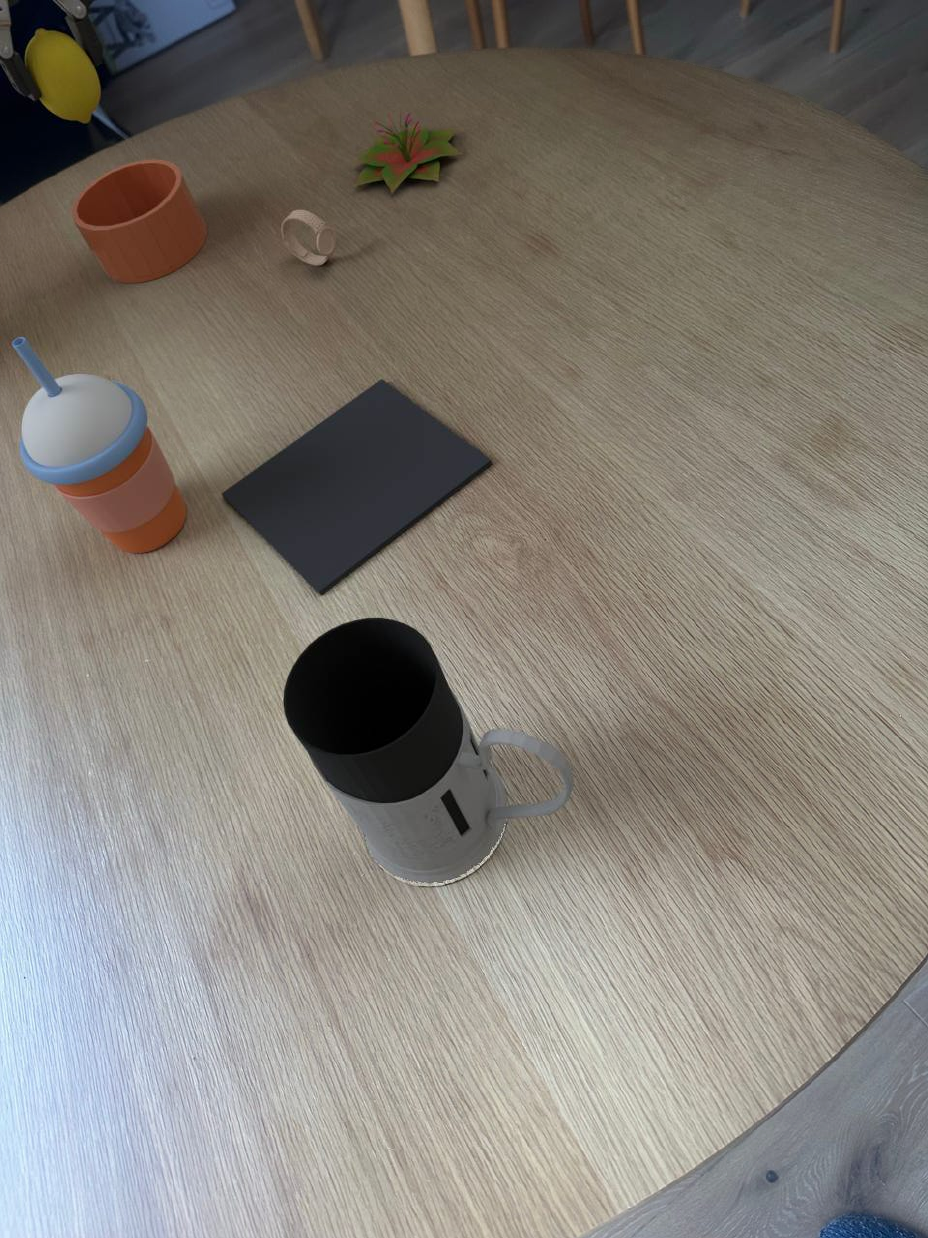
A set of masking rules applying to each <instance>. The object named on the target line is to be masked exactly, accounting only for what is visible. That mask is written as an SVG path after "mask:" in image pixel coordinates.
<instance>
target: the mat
mask: <svg viewBox="0 0 928 1238" xmlns="http://www.w3.org/2000/svg"><path fill="white" fill-rule="evenodd" d="M492 465H493V462H492V459H491V458H489V457H488V456H487V455H486V454H485V453H483V452H481V451H480V450H479V449H477V448H476V447H475V446H473V445H472V444H471V443H469V442H468V441H467V440H465V439H464V438H462V437H461V436H460V435H458V434H457V433H456V432H454V431H453V430H451V429H450V428H449V427H448V426H446V425H445V424H444V423H442V422H441V421H439V420H438V419H437V418H436V417H434V416H433V415H431V414H430V413H428V412H427V411H426V410H424V409H423V408H422V407H421V406H419V405H418V404H416V403H415V402H414V401H413V400H411V399H409V398H408V397H407V396H405V394H403V393H402V392H400V391H399V390H398V389H396V388H395V387H394V386H392V385H391V384H389V382H386V381H385V380H384V379H382V378H381V379H379V380H378V381H377V382H375V383H373V385H371V386H369V387H368V388H367V389H366V390H364V391H363V392H361V393H360V394H358V395H357V396H356V397H354V398H352V399H351V400H350V401H349V402H347V403H346V404H344V405H343V406H342V407H340V408H338V410H336V411H334V412H333V413H332V414H330V415H329V416H327V417H326V418H325V419H323V420H322V421H320V422H319V423H317V425H315V426H314V427H313V428H311V429H309V430H308V431H307V432H306V433H304V434H303V435H301V436H300V437H298V438H297V439H296V440H294V441H293V442H291V443H290V444H289V445H287V446H286V447H285V448H283V449H282V450H280V451H279V452H277V453H276V454H274V455H273V456H272V457H270V458H269V459H267V460H266V461H265V462H263V463H261V465H259V466H258V467H257V468H255V469H254V470H252V471H251V472H250V473H248V474H247V475H245V476H244V477H243V478H241V479H239V480H238V481H237V482H236V483H234V484H233V485H232V486H230V487H229V488H227V489H226V490H224V491H222V493H221V496H222V497H223V499H224V500H226V502H228V504H229V505H230V506H231V507H233V509H234V510H235V511H236V512H237V513H238V514H239V515H240V516H241V517H242V518H243V519H244V520H245V521H246V522H247V524H249V525H250V526H251V527H252V528H253V529H254V530H255V531H256V532H257V533H258V534H259V535H260V536H261V538H263V539H264V540H265V541H266V542H267V543H268V544H269V546H271V547H272V548H273V549H274V550H275V551H276V552H277V553H278V554H279V555H280V556H281V557H282V558H283V559H284V560H285V561H286V562H287V563H288V565H290V566H291V567H292V569H294V570H295V571H296V572H297V573H298V574H299V575H300V577H301V578H303V579H304V580H305V581H306V583H308V584H309V586H310V587H311V588H312V589H313V590H314V591H315V592H316V593H318V595H319V596H322V595H324V594H325V593H326V592H328V591H329V590H330V589H332V588H333V587H334V586H335V585H338V584H339V582H341V581H342V580H344V579H345V578H346V577H348V576H349V575H350V574H352V572H354V571H356V569H358V568H359V567H360V566H362V565H363V564H365V563H366V562H367V561H369V560H370V559H371V558H372V557H373V556H375V555H376V554H377V553H378V552H380V551H382V550H383V549H384V548H385V547H387V546H388V545H389V544H390V543H392V542H393V541H394V540H396V539H397V538H398V537H399V536H401V535H402V534H403V533H405V532H406V531H407V530H409V529H410V528H411V527H413V526H414V525H415V524H416V523H418V522H419V521H420V520H421V519H423V518H424V517H426V516H427V515H428V514H430V513H431V512H432V511H434V510H435V509H436V508H437V507H439V506H440V505H441V504H442V503H444V502H445V501H447V500H448V499H449V498H451V496H453V495H455V494H456V493H457V492H458V491H459V490H461V489H462V488H463V487H465V486H466V485H467V484H468V483H470V482H471V481H473V480H474V479H475V478H476V477H478V475H480V474H481V473H482V472H484V471H486V470H487V469H488V468H490V467H491V466H492Z"/></svg>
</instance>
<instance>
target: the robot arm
mask: <svg viewBox="0 0 928 1238" xmlns="http://www.w3.org/2000/svg"><path fill="white" fill-rule="evenodd" d="M20 1H21V0H0V65H1V67H2V69H3V71H4V72H5V74H6V76H7V79H8V80H9V81H10V83H11V85H12V87H13V88H14V89H15V90H16V91H17V92H18V93H19V94H20V95H22V96H23V97H24V98H27V97H28V98H29V99H31V100H32V101H34V102H37V101H38V100H40V98H41V97H42V95H41V93H40V91H39V90H38V88H37V86H36V84H35V82H34V81H33V79H32V77H31V75H30V73H29V71H28V70H27V68H26V66H25V61H24V60H23V59H22V56H21V54H19V53H18V52H17V51H15V50H14V45H13V39H12V34H11V26H12V20H11V13H10V8H11V7H13V6H15V5H17V4H19V3H20ZM96 1H97V0H53V2H54V3H55V4H56V5H58V7H59V8H60V9H61V10H63V11H64V12H65V13H66V15H67V16H65V17H64V19H65V21H66V24H67V26H68V27H69V29H70V31H71V34H72V35H73V37H74V40H75V41H76V42H77V43H78V44H79V45H80V46H81V47H82V48H83V50H84V51H85V52H86V54H87V55H88V57H89V58H90V60H91V61H92V63H93V65H94V67H95V68H96V67H98V66H100V65H101V64H103V59H102V58H101V55H104V48H103V45H102V42H101V40H100V38H99V36H98V35H97V32H96V30H95V28H94V26H93V24H92V21H91V19H90V17H89V13H88V12H89V8H90V6H91V5H92V4H93V2H96Z"/></svg>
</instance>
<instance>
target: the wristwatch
mask: <svg viewBox="0 0 928 1238" xmlns="http://www.w3.org/2000/svg"><path fill="white" fill-rule="evenodd" d="M291 220H297V221H298V220H299V221H300V222H303V223H305V224H307V226H309V227H310V228H311V229H312V230H313V231H314V234H315V235H317V236H316V248H317V250H318V253H319V254H321V255H317V254H315V253H312V252H311V251H309V250H308V249H306V248H305V247H304V246H303V245H302V244H301V243H300V242H299V240H298V239H297V237H296V235H295V234H294V232H293V229H292V226H291ZM325 225H326V221H323V220H322V219H321V218H320V217H319V216H317V215H316V214H314V213H312V212H311V211H309V210H305V209H294V210H292V211H291V212H290V213H289V214H288V216H287V217H286V218H285V219H284V220H283V221H282V224H281V228H280V231H281V236H282V239H283V242H284V243H285V245H286V247H287V248H288V249H289V250H290V252H291V253H292V254H293V255H294V256H295V257H297V258H298V259H299V260H300V261H302V262H304V263H306V264H308V265H310V266H315V267H316V266H322V265H324V263H326V262H327V261H328V260H329V258H330V257H331V256H332V255H333V254H334V252H335V250H336V243H337V237H336V232H335V231H334V229H333V228H332V227H331V226H328V225H326V226H325Z"/></svg>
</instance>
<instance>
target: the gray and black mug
mask: <svg viewBox="0 0 928 1238" xmlns="http://www.w3.org/2000/svg"><path fill="white" fill-rule="evenodd" d="M458 698H459V697H458V696H457V695H456V694H455V692H454V691H453V689H452V688H451V687H450V685H449V683H448V680H447V678H446V675H445V674H444V671H443V668H442V667H441V665H440V662H439V660H438V657H437V655H436V653H435V651H434V649H433V647H432V645H431V644H430V642H429V641H428V640H427V638H426V637H425V636H424V635H423V634H422V633H421V632H419V631H418V630H417V629H416V628H414V627H412V626H410V625H409V624H407V623H405V622H402V621H399V620H396V619H393V618H385V617H365V618H359V619H353V620H350V621H347V622H344V623H341V624H338V625H337V626H335V627H333V628H330V629H328V630H327V631H325V632H324V633H322V634H321V635H319V636H318V637H317V638H315V639H314V640H313V641H312V642H311V643H310V644H308V645H307V647H306V648H305V649H304V650H303V651H302V652H301V653H300V655H299V656H298V657H297V659H296V660H295V662H294V663H293V664H292V666H291V668H290V671H289V673H288V675H287V677H286V681H285V685H284V689H283V700H282V701H283V711H284V712H283V713H284V715H285V719H286V722H287V724H288V727H289V728H290V730H291V731H292V733H293V734H294V736H295V737H296V739H297V740H298V742H300V744H301V746H302V747H303V748H304V750H305V751H306V752H307V754H308V756H309V759H310V760H311V762H312V764H313V767H315V769H316V771H317V772H318V774H319V775H320V777H321V778H322V780H323V781H324V782H325V784H326V785H327V787H328V788H329V789H330V790H331V792H332V793H333V794H334V796H335V798H336V799H337V800H338V801H339V802H340V804H341V805H342V806H343V809H345V810H346V812H347V814H348V815H349V816H350V817H351V818H352V820H353V822H355V824H356V825H357V827H358V828H359V829H360V830H361V832H362V834H363V833H364V834H363V836H364V835H365V840H366V842H367V845H368V848H367V850H368V849H369V850H370V851H371V854H372V855H373V857H374V859H375V860H376V861H377V862H378V864H380V865H381V866H382V867H383V868H384V869H385V870H386V871H388V872H389V873H391V874H393V875H394V876H397V877H400V878H403V880H404V879H405V880H407V879H408V880H407V881H411V882H413V881H414V882H416V883H418V882H421V883H424V882H426V883H429V884H431V883H434V882H437V883H443V881H446V880H452V879H454V878H458V877H461V876H460V875H462V874H465V873H467V871H469V870H470V869H472V868H473V867H474V866H477V865H479V864H478V863H481V862H482V861H483V859H484V858H485V857H486V856H488V855H489V854H490V852H491V850H492V847H493V848H494V846H495V845H496V842H498V839H500V838H499V837H501V833H502V832H503V828H504V826H505V825H504V824H506V821H507V820H506V819H508V820H514V819H527V818H535V817H544V816H545V817H546V816H550V815H553V814H554V813H556V812H558V811H560V810H561V809H562V808H563V807H564V806H566V804H567V803H568V802H569V799H570V797H571V794H572V792H573V789H574V785H575V780H574V772H573V768H572V766H571V764H570V762H569V760H568V759H567V757H566V756H565V755H564V754H563V753H562V752H561V751H560V750H558V749H557V748H556V747H554V746H553V745H551V744H549V743H548V742H546V741H544V740H542V739H540V738H537V737H535V736H533V735H530V734H528V733H526V732H525V733H524V732H521V731H517V730H515V729H507V728H495V729H494V728H493V729H491V730H489V731H487V732H485V733H484V734H483V736H482V738H481V740H480V742H479V743H478V741H477V739H476V736H475V734H474V732H473V730H472V727H471V725H470V722H469V720H468V718H467V715H466V713H465V711H464V708H463V707H462V705H461V702H460V700H459V699H458ZM493 745H506V746H510V747H511V746H512V747H515V748H518V749H521V750H524V751H526V752H529V753H531V754H533V755H536V756H537V757H539V758H541V759H542V760H545V761H546V762H548V763H549V765H551V766H552V767H553V768H554V769H555V770H556V771H557V772H558V775H559V776H560V778H561V780H562V786H563V791H561V792H560V793H559V794H558V795H557V796H555V797H553V798H551V799H549V800H545V801H540V802H534V803H533V802H532V803H525V804H510V805H509V804H508V806H507V798H508V794H507V791H505V790H506V787H505V785H504V783H503V781H502V778H501V776H500V775H499V774H498V772H497V771H496V769H494V767H493V766H492V765H491V761H492V760H493V751H492V748H491V746H493ZM504 787H505V788H504ZM505 792H506V793H505ZM506 794H507V795H506ZM365 840H364V841H365ZM367 845H366V846H367ZM417 881H418V882H417Z"/></svg>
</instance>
